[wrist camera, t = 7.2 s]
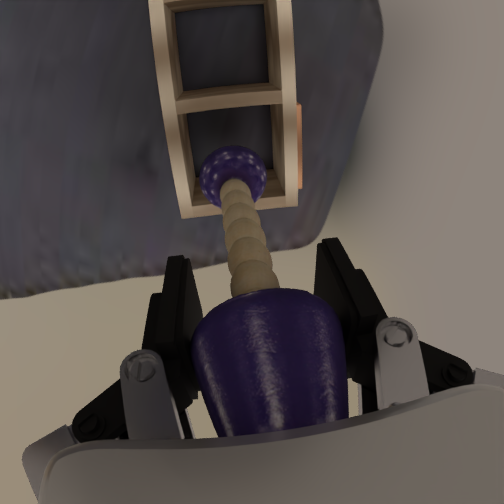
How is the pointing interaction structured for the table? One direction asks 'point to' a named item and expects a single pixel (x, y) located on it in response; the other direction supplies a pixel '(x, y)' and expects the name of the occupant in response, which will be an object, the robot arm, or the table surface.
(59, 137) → the table surface
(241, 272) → the toy lamp
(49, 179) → the table surface
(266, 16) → the rack
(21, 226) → the table surface
